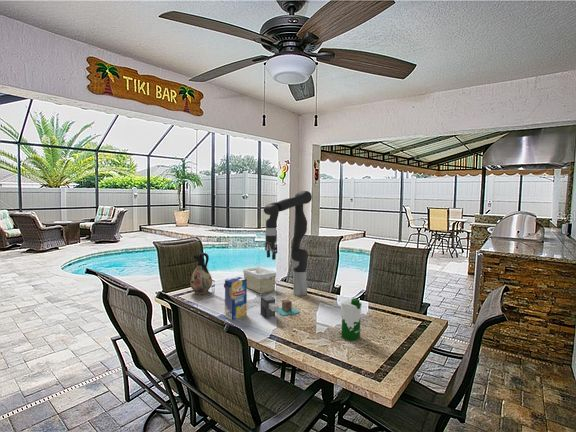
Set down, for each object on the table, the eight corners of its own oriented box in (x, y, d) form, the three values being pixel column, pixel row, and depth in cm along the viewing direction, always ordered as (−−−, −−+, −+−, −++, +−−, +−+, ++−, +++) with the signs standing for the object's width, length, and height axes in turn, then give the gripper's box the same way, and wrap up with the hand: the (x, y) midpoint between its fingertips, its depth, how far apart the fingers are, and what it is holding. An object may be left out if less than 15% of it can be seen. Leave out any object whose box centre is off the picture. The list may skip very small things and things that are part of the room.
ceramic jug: (186, 294, 235) (185, 253, 233) (197, 288, 249) (197, 249, 247) (207, 297, 230) (206, 254, 228) (217, 290, 244) (217, 251, 242)
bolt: (267, 301, 201) (267, 297, 201) (279, 310, 187) (279, 305, 187) (261, 302, 199) (261, 298, 199) (272, 311, 185) (272, 307, 185)
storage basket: (277, 290, 247) (277, 271, 246) (259, 294, 237) (259, 274, 236) (259, 283, 266) (259, 265, 265) (242, 287, 256) (242, 268, 255)
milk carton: (354, 342, 162) (355, 303, 160) (338, 337, 167) (339, 299, 166) (362, 336, 168) (363, 298, 167) (347, 331, 174) (347, 295, 173)
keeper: (270, 312, 201) (270, 295, 200) (275, 316, 195) (275, 299, 194) (260, 314, 198) (260, 297, 197) (265, 318, 192) (265, 300, 191)
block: (288, 308, 207) (288, 299, 206) (291, 311, 203) (291, 301, 202) (282, 309, 205) (282, 300, 204) (285, 312, 201) (285, 302, 200)
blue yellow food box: (246, 314, 197) (246, 278, 195) (232, 319, 189) (232, 282, 187) (239, 312, 201) (239, 276, 200) (224, 316, 193) (224, 280, 192)
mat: (290, 306, 212) (290, 306, 212) (299, 312, 201) (299, 312, 201) (274, 309, 206) (274, 308, 206) (282, 316, 196) (282, 315, 196)
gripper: (281, 235, 213) (280, 260, 214) (271, 232, 226) (271, 256, 227) (270, 236, 210) (270, 261, 211) (261, 233, 222) (261, 257, 223)
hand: (271, 258), depth 219 cm, fingers open, 8 cm apart
